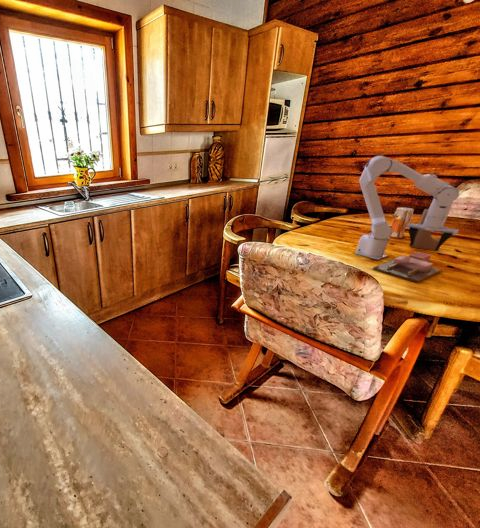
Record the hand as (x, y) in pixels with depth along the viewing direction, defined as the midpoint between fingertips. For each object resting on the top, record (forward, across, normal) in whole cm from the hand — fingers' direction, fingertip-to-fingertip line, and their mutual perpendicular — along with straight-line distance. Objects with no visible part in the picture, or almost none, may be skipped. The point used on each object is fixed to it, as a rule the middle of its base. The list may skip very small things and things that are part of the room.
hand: (423, 247), depth 117 cm
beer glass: (+7, -15, +34) cm, 37 cm away
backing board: (+6, -1, -15) cm, 16 cm away
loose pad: (+6, 0, 0) cm, 6 cm away
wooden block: (+7, -2, +22) cm, 23 cm away
